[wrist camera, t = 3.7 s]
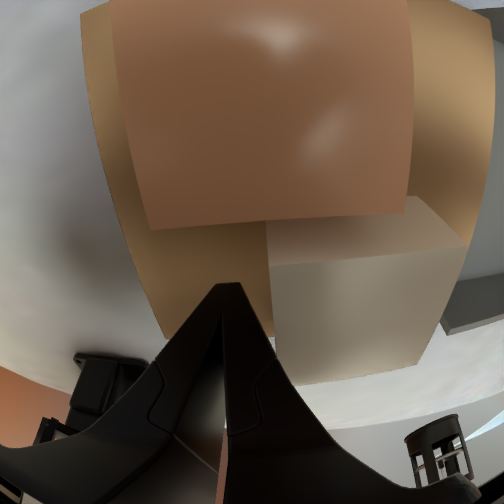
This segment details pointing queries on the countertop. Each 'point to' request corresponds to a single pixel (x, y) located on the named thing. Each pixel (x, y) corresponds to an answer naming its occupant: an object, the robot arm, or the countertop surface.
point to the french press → (431, 439)
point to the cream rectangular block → (359, 290)
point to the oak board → (254, 233)
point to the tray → (485, 222)
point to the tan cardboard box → (265, 107)
